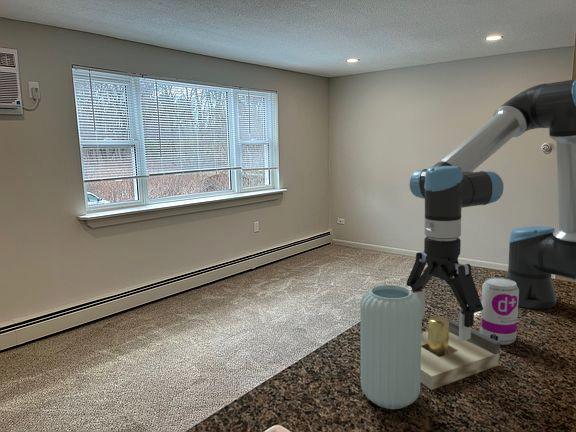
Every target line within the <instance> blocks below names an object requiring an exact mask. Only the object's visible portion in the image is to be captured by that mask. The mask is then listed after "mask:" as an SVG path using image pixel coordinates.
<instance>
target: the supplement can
mask: <svg viewBox="0 0 576 432" xmlns="http://www.w3.org/2000/svg"><path fill="white" fill-rule="evenodd" d="M518 301H519V289H518V287H517V284H516V282H515V281H513V280H510V279H506V277H489V278H486V279H484V283H483V284H482V285H481V304H482V306H483V310H482V311H480V323H479V324H480V327H479V329H480V330H479V333H481V334H483V335H485V336H487V337H490V338H492V339H494V340H496V341H498V342H500V346H501V345H505V346H507V345H511V344H512V343H513V342H515V341H516V340H517V331H518V329H517V328H518V313H519V306H518Z"/></svg>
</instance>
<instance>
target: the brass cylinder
mask: <svg viewBox="0 0 576 432" xmlns="http://www.w3.org/2000/svg"><path fill="white" fill-rule="evenodd" d="M444 317H445V316H444ZM444 317H443V316H437V315H433V316H430V317H429V318H428V323H427V324H428V325H427V327H428V328H427V331H428V351H429V352H431V353H433V354H434V355H436V356H438V357H441V356H444V355H447V354H448V340H449V320H448V319H449V318H448V317H446V318H444ZM447 318H448V319H447Z"/></svg>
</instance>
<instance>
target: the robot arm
mask: <svg viewBox="0 0 576 432" xmlns="http://www.w3.org/2000/svg"><path fill="white" fill-rule="evenodd" d="M534 129H548V131H549V138H550V139H551V140H554V142H555V143H556V168H557V171H556V172H557V198H558V200H557V204H558V207H557V208H558V228H557V229H555V228H554V227H552V226H541V225H540V226H524V227H523V226H522V227H517V228H514V229H512V230H511V232H510V237H509V242H508V243H509V247H508V249H509V250H508V264H507V265H508V266H507V267H508V269H507V275H506V277H505V279H510V280H513V281H515V282H516V284H517V287H518V289H519V301H518V307H519V308H520V307H521V308H525V309H537V310H542V309H543V310H544V309H545V310H546V309H551V308H554V307H555V306H557V299H558V298H557V293H556V291H555V287H554V283H553V281H552V280H553V279H552V275H553V276H558V277H562V278H565V279H569V280H572V281H576V78H574V79H569V80H561V81H555V82H547V83H541V84H537V85H533V86H531V87H529V88H526V89H525V90H523V91H521V92H519V93H518V94H515V95H514V96H513V97H512V98H510V99H508V100H507V101H506V102H504V103H503V104H502V105H500V106H499V107H498V108H497V109H495V110H494V113H493V116H492V117H491V118H490V119H489V120H488V121H487V122H486V123H484V124H483V125H482V126H481V127H479V128H478V129H477V130H476V131H475V132H473V133H472V134H471V135H470V136H468V137H467V138H466V139H465V140H464V141H462V142H461V143H460V144H459V145H457V146H456V147H455V148H454V149H453V150H451V151H450V152H449V153H448V154H446V155H445V156H444V157H442V158H441V159H440V160H439V161H438V162H437V163H435V164H434V165H432V166H430V167H428V168H423V169H417V170H416V171H414V172H413V173H412V175H411V177H410V178H409V190H410V192H411V193H412V195H414V197H417V198H419V199H424V235H425V237H424V241H423V244H424V246H423V247H424V248H423V250H424V251H420V252H419V251H418V252H416V254H415V261H414V263H413V266H412V269H411V271H410V274H409V275H408V277H407V281H406V286H407V287H410V288H411V291H412V292H413V293H414V294H416V296H417V297H418V298H419V299H420V301H421V304H422V318H423V317H425V316H426V290H424V289H425V286H426V285H427V284H428V283H429V282H430V280H431V279H433V278H434V277H435V278H439V279H440V280H443V281H444V282H445V283H446V284H447V285H449V287H450V289H451V291H452V294H453V295H454V297H455V299H456V300H457V302H458V304H459V306H460V308H461V310H460V311H459V318H458V320H459V322H458V323H459V340H460V341H465V340H467V339H470V338H471V329H472V327H473V326H474V324H475V323H474V319H475V317H474V316H475V315H474V314H476V313H478V312H481V311H482V310H483V306H482V304H481V302H482V300H481V299H480V296H479V293H478V290H477V287H476V284H475V281H474V277H473V275H472V266H471V264H470V263H466V264H462V263H459V260H458V259H459V256H460V255H461V243H462V241H461V239H460V237H461V236H462V208H469V207H475V206H477V207H478V206H486V205H488V204H491V203H496V202H497V201H499V199H500V198H501V197H502V196H503V193H504V188H505V187H504V182H503V179H502V178H501V176H500V175H499V174H497V173H496V172H495V171H491V170H490V171H489V170H488V171H486V170H480V171H475V170H476V169H477V168H479V167H480V166H481V165H482V164H484V163H485V162H486V161H487V160H488V159H489V158H490V157H492V155H494V154H495V153H496V152H497V151H498V150H500V149H501V148H502V147H503V146H504V145H505V144H507V143H508V142H509V141H511V140H512V139H513V138H517V137H520V136H522V135H524V134H525V133H526V132H528V131H531V130H534ZM426 265H427V266H426ZM425 267H426V268H425Z"/></svg>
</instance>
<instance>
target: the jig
mask: <svg viewBox="0 0 576 432" xmlns="http://www.w3.org/2000/svg"><path fill="white" fill-rule="evenodd" d="M444 318H447V319H448V320H449V340H448V354H447V355H444V356H441V357H438V356H436V355H434V354H433V353H431V352H429V351H428V330H427V331H423V332H421V379H420V384H422V385H424V386H425V387H426V388H427V389H429V390H430V391H431V390H436V389H437V388H440V387H443V386H445V385H449V384H452V383H453V382H454V383H455V382H456V381H459V380H463V379H465V378H467V377H470V376H474V375H476V374H479V373H481V372H482V373H483V372H484V371H487V370H489V369H493V368H495V367H498V366H499V365H500V354H501V353H500V351H501V350H500V349H501V345H500V342H498V341H496V340H494V339H492V338H490V337H487V336H485V335H483V334H481V333H480V331H476V330H474V329H472V328H471V338H470V339H467V340H465V341H460V340H459V322H457V321H455V320H453V319H450V318H449V317H446V316H444Z"/></svg>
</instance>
